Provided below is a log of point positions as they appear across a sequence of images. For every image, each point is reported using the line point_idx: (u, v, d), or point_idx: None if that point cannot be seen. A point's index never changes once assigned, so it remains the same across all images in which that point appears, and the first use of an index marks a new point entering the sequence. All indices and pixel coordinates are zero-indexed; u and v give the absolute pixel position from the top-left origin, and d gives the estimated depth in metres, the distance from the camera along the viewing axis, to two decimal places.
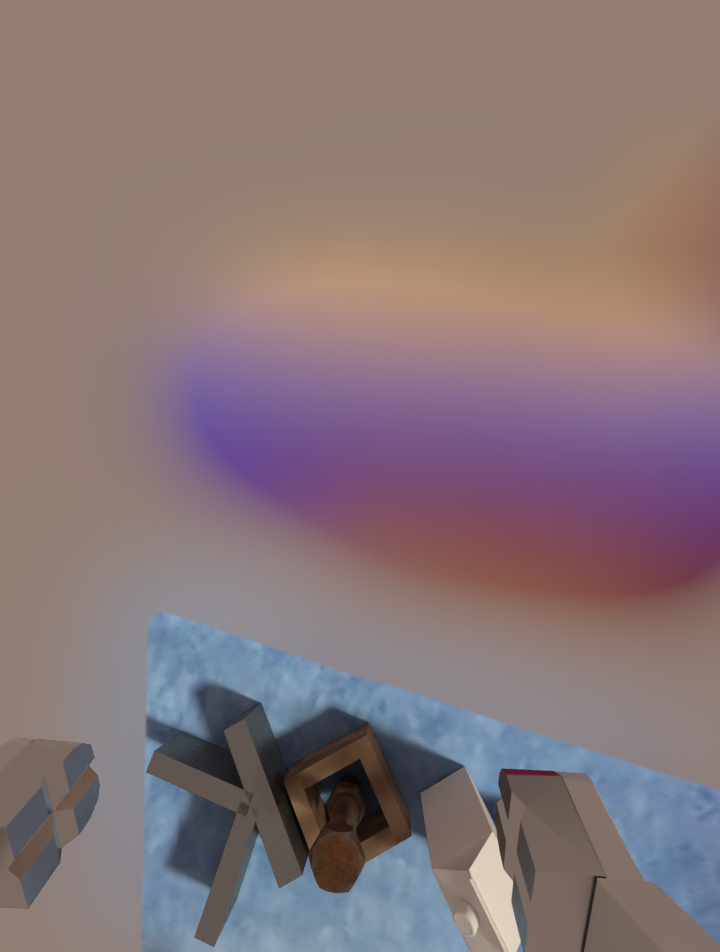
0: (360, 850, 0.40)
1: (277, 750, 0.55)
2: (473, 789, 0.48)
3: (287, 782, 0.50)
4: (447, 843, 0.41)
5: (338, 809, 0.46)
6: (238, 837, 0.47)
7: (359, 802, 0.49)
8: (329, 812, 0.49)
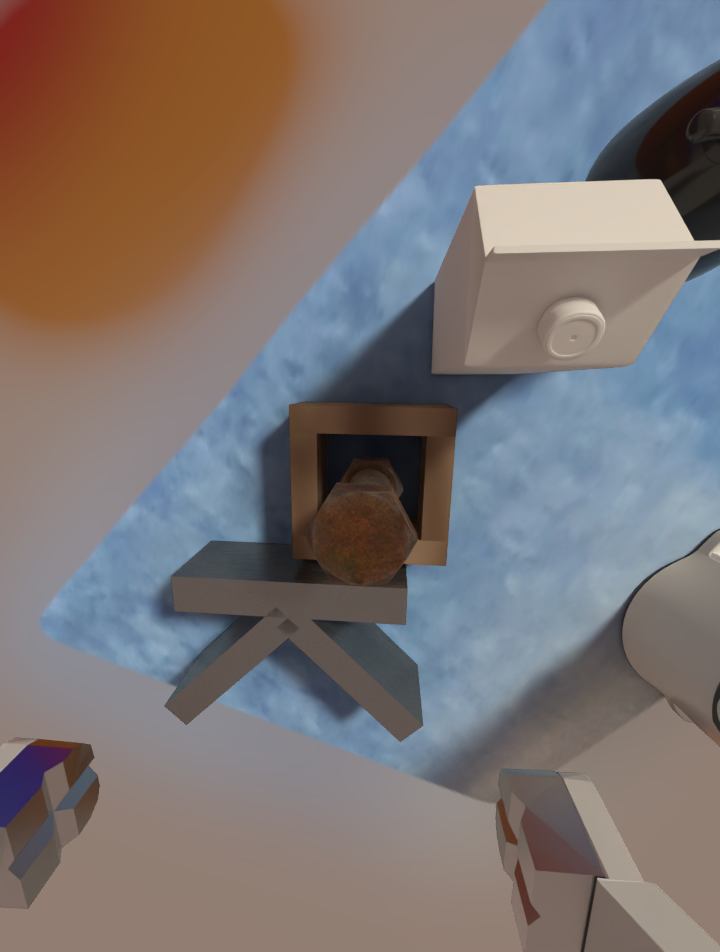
0: (371, 489, 0.20)
1: (276, 546, 0.36)
2: None
3: (296, 553, 0.31)
4: (458, 321, 0.19)
5: None
6: (319, 648, 0.31)
7: (371, 464, 0.29)
8: None
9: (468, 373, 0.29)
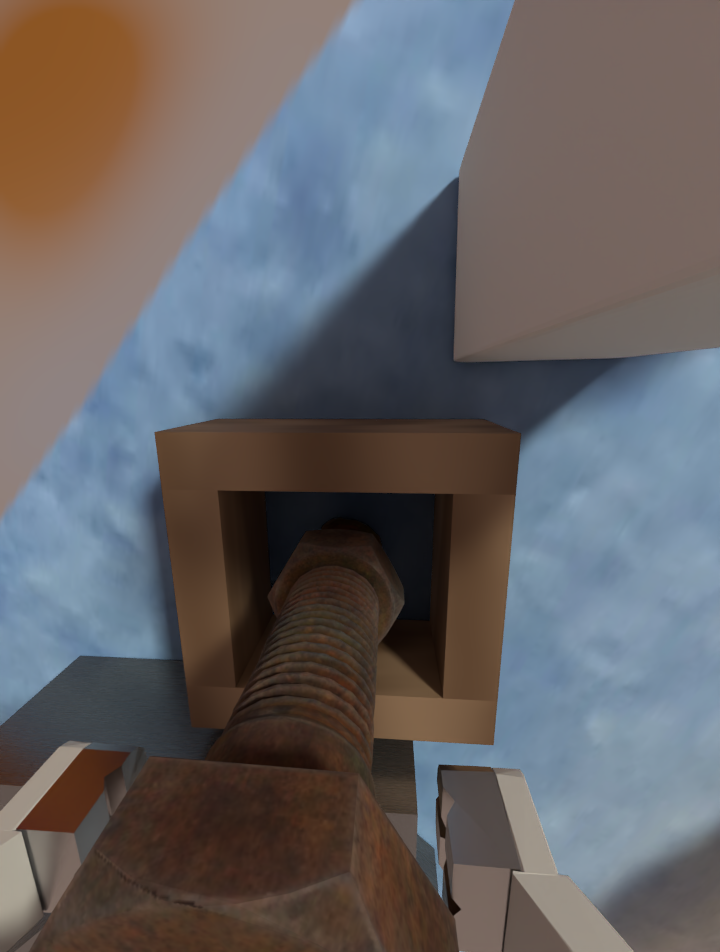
0: (262, 840, 0.04)
1: None
2: (505, 33, 0.09)
3: (198, 718, 0.16)
4: (663, 57, 0.04)
5: None
6: None
7: (334, 554, 0.13)
8: None
9: (538, 356, 0.13)
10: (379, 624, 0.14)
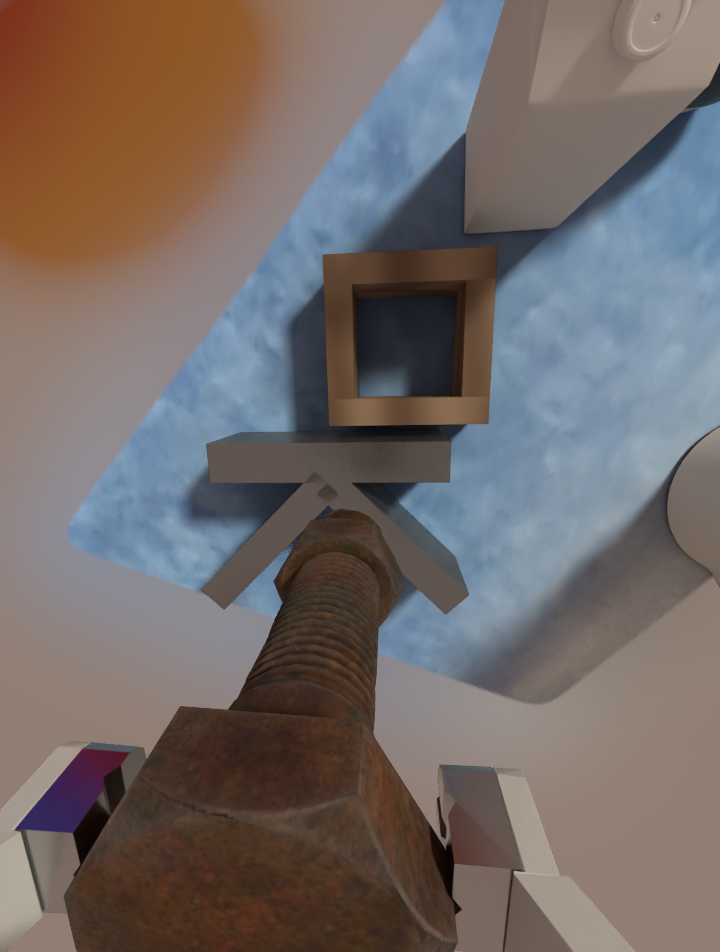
0: (282, 770, 0.05)
1: (308, 432, 0.35)
2: (485, 65, 0.23)
3: (333, 420, 0.30)
4: (515, 80, 0.18)
5: None
6: None
7: (337, 542, 0.14)
8: None
9: (506, 215, 0.28)
10: (380, 608, 0.15)
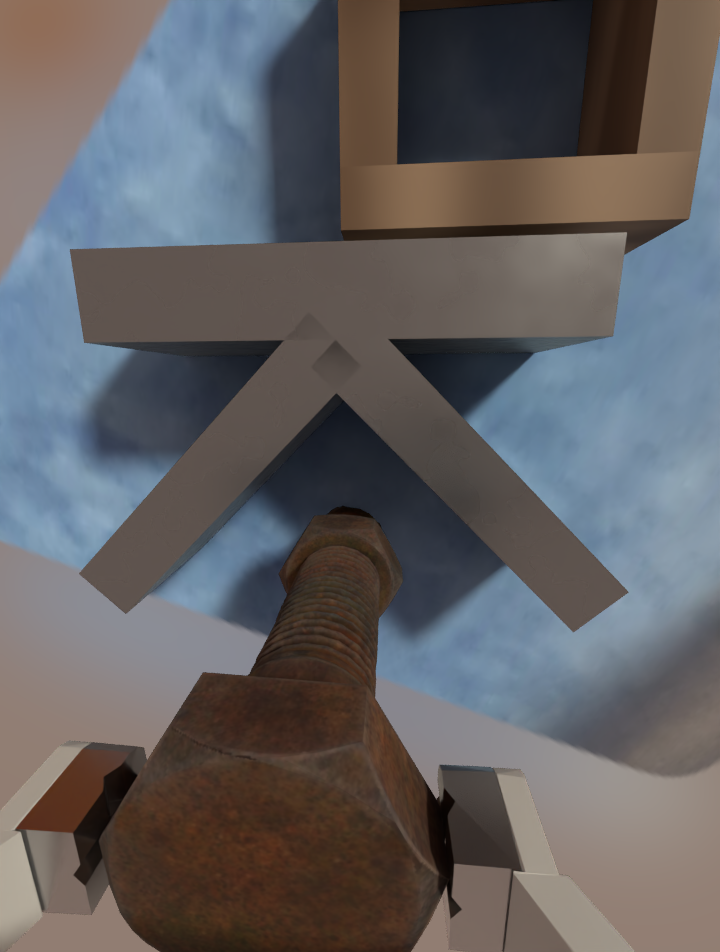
0: (296, 723, 0.06)
1: None
2: None
3: (349, 216, 0.14)
4: None
5: None
6: (405, 413, 0.14)
7: (340, 536, 0.15)
8: None
9: None
10: (379, 600, 0.15)
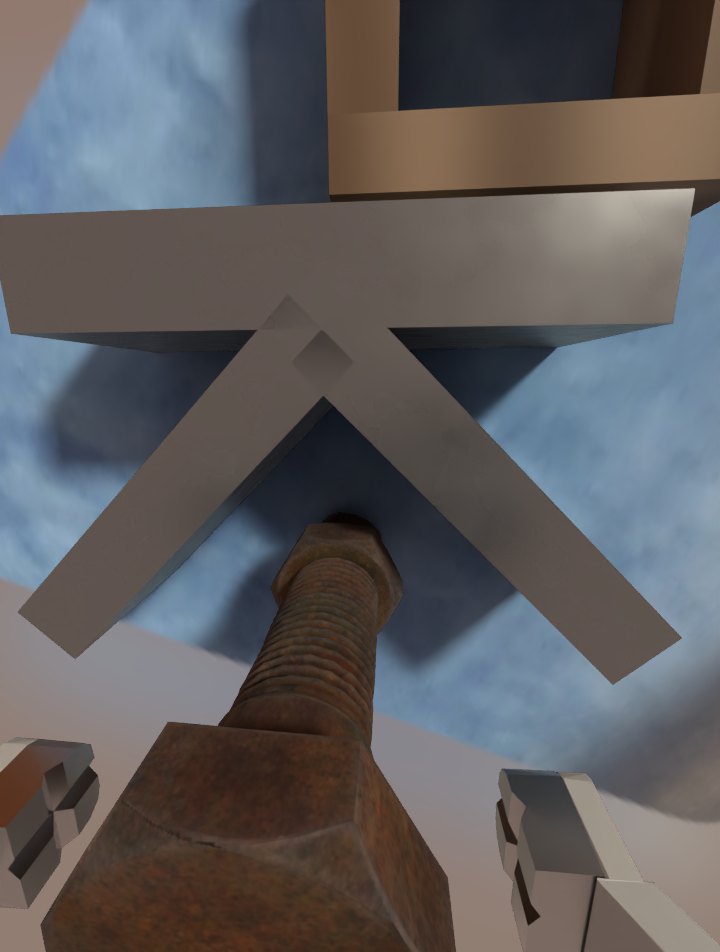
0: (274, 793, 0.05)
1: None
2: None
3: (339, 176, 0.12)
4: None
5: None
6: (409, 421, 0.11)
7: (335, 547, 0.14)
8: None
9: None
10: (378, 615, 0.14)
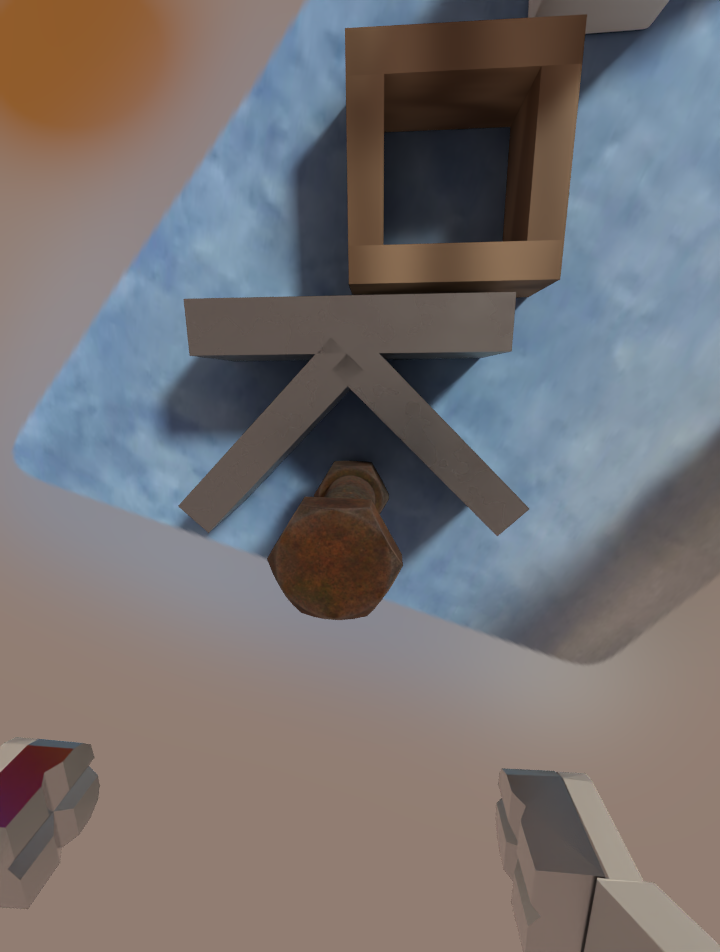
0: (345, 504, 0.16)
1: None
2: None
3: (354, 275, 0.23)
4: None
5: None
6: (390, 398, 0.22)
7: (351, 470, 0.25)
8: None
9: None
10: None
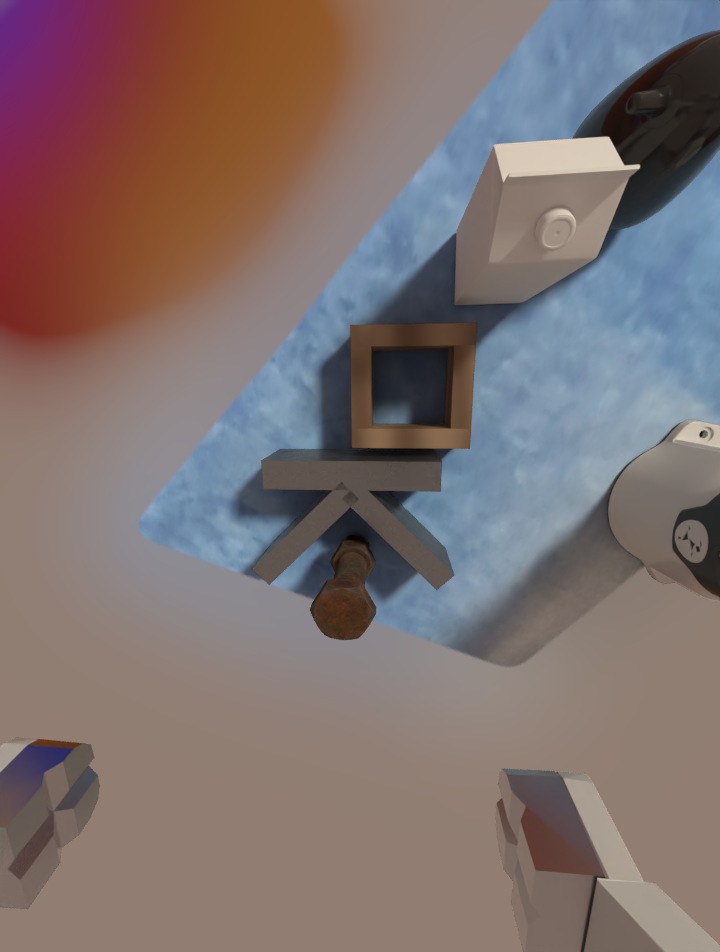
0: (348, 584, 0.34)
1: (333, 450, 0.45)
2: (468, 205, 0.34)
3: (354, 443, 0.41)
4: (482, 239, 0.29)
5: (334, 576, 0.40)
6: (374, 514, 0.40)
7: (352, 548, 0.43)
8: None
9: (484, 298, 0.38)
10: (366, 571, 0.43)
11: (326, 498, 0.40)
